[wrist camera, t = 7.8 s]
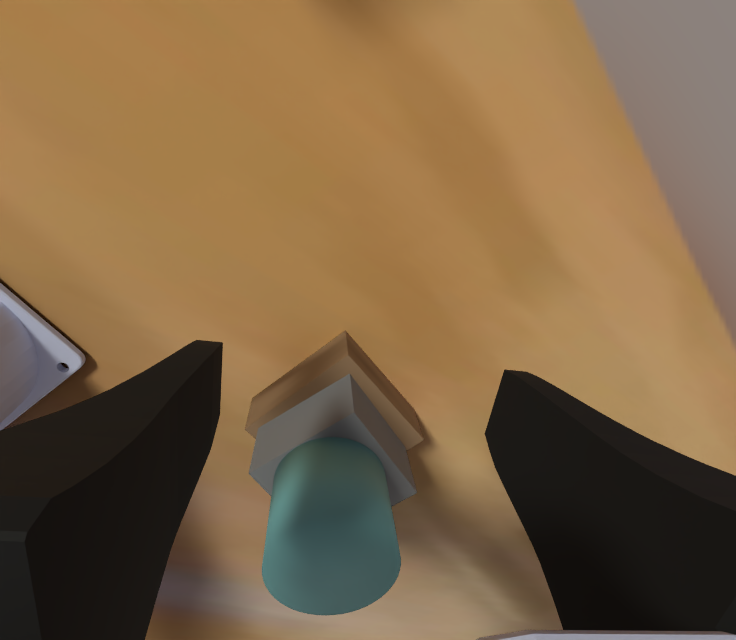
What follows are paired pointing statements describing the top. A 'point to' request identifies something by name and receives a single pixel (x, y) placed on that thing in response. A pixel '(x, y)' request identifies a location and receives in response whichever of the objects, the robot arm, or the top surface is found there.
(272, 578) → the teal rounded piece
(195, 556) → the top surface
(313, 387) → the base block
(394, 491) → the top block
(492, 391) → the top surface
